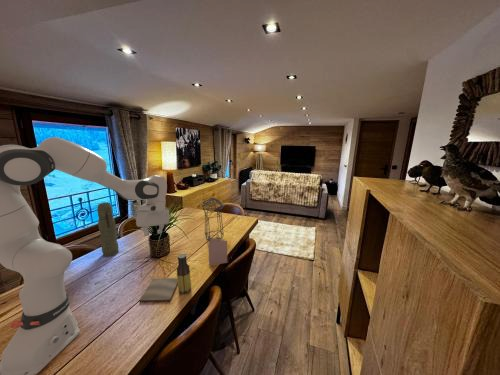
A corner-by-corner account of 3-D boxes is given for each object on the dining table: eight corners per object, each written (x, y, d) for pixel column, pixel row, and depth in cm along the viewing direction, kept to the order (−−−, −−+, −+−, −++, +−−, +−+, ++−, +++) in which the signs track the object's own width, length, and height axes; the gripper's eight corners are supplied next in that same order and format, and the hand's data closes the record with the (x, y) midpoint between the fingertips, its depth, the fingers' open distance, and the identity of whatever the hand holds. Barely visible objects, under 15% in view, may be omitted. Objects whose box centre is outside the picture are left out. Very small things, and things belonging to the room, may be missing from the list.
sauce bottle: (191, 285, 103) (189, 251, 99) (191, 294, 97) (189, 258, 93) (178, 287, 102) (176, 252, 97) (177, 296, 96) (175, 260, 91)
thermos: (109, 259, 125) (102, 206, 117) (98, 254, 129) (90, 204, 122) (123, 252, 132) (117, 203, 125) (112, 248, 137) (105, 200, 130)
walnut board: (170, 301, 92) (169, 299, 92) (139, 302, 91) (139, 300, 91) (179, 280, 107) (179, 278, 107) (153, 280, 106) (152, 278, 106)
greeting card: (227, 261, 125) (227, 240, 122) (223, 268, 118) (222, 246, 115) (211, 258, 128) (211, 237, 125) (206, 265, 121) (205, 243, 118)
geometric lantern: (226, 243, 148) (225, 199, 140) (205, 247, 142) (203, 201, 134) (221, 234, 162) (220, 193, 154) (202, 237, 157) (200, 195, 148)
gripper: (163, 207, 111) (161, 231, 109) (135, 206, 91) (131, 236, 89) (173, 207, 109) (171, 232, 108) (146, 207, 89) (143, 238, 88)
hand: (153, 234), depth 99 cm, fingers open, 8 cm apart
